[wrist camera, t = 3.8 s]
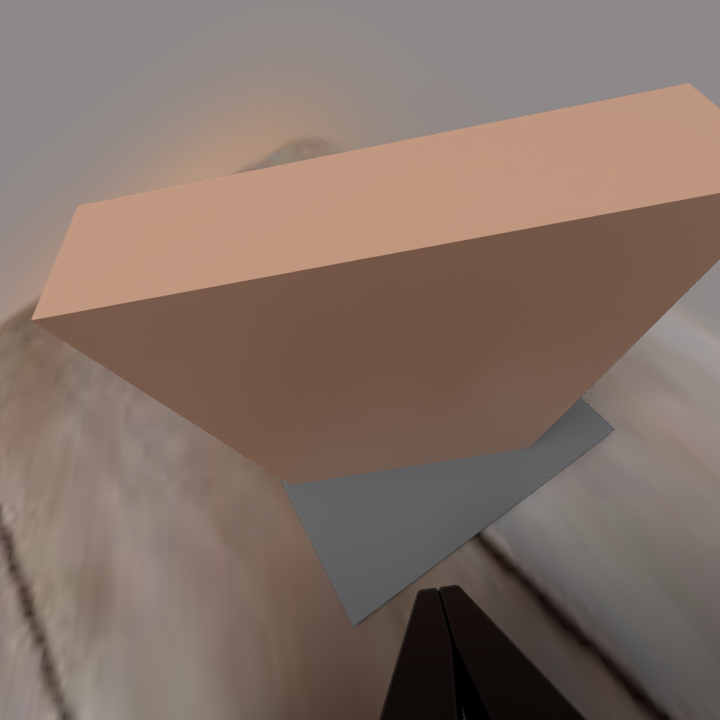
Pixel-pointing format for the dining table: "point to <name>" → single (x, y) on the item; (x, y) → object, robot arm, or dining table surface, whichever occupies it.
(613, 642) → the dining table surface
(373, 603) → the mat
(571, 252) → the block
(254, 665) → the dining table surface
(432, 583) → the dining table surface
